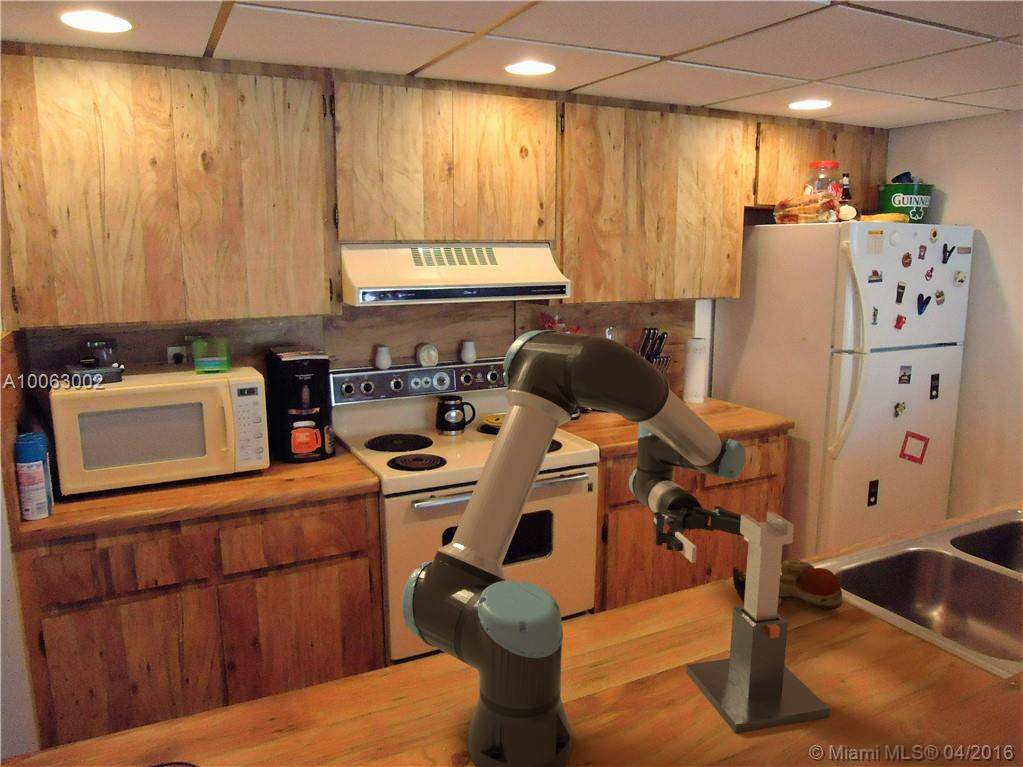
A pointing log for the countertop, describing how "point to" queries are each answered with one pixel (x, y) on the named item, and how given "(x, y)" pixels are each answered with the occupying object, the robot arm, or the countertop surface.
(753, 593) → the column
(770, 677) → the stand
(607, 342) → the robot arm
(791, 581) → the beige sneaker
